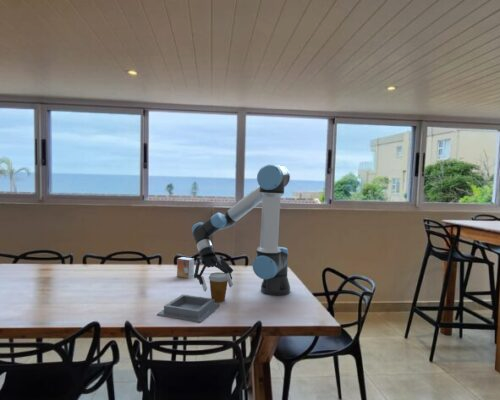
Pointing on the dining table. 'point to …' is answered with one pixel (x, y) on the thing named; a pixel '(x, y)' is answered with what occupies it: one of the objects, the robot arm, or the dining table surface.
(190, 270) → the small box
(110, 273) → the dining table surface
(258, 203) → the robot arm
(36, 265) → the dining table surface
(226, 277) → the disposable coffee cup
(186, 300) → the tray
